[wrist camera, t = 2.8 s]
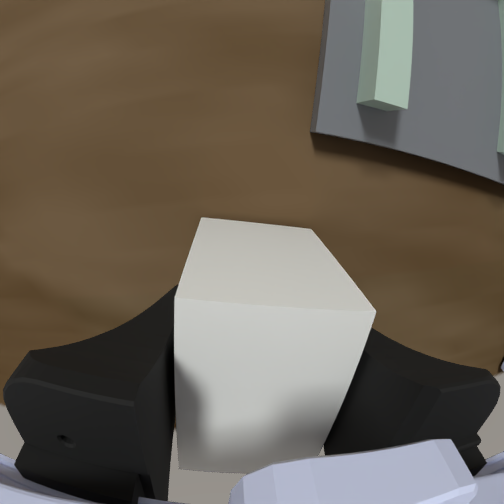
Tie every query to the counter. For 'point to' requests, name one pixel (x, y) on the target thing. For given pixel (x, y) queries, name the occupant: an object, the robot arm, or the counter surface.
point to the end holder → (416, 79)
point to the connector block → (261, 345)
